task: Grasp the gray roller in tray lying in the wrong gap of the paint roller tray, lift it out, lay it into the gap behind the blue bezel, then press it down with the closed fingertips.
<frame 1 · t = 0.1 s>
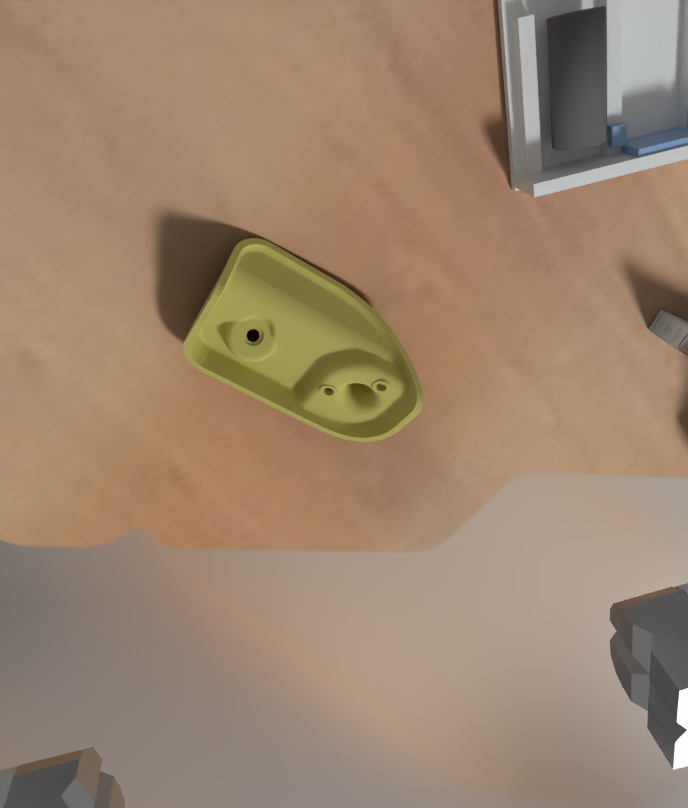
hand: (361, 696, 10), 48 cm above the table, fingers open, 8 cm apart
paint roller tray: (601, 76, 52), on the table
gray roller in tray: (565, 79, 51), point 1 cm above the table, touching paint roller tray
plastic component: (301, 341, 60), on the table
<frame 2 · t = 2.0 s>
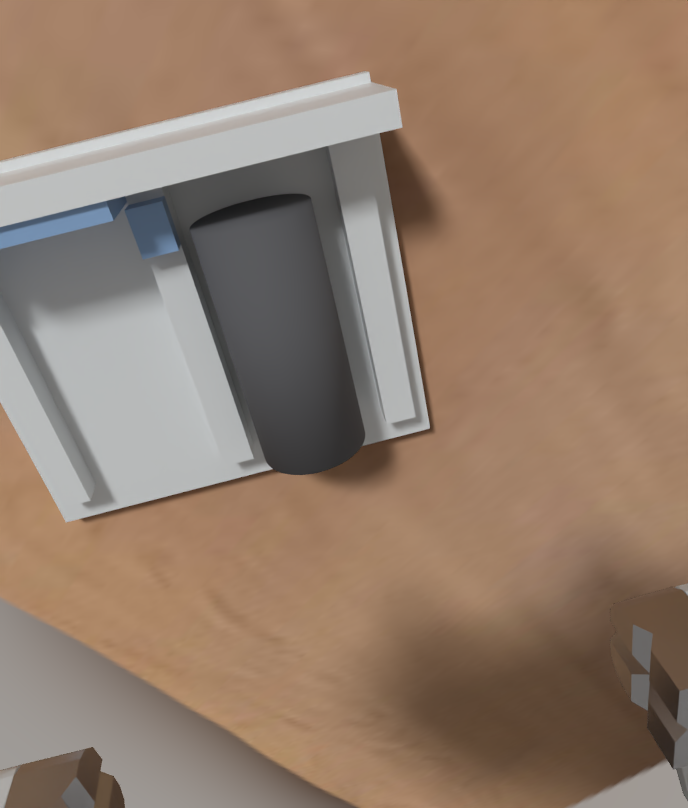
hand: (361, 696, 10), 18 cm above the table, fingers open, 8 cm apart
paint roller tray: (198, 319, 25), on the table
gray roller in tray: (287, 317, 25), point 1 cm above the table, tilted 6°, touching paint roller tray
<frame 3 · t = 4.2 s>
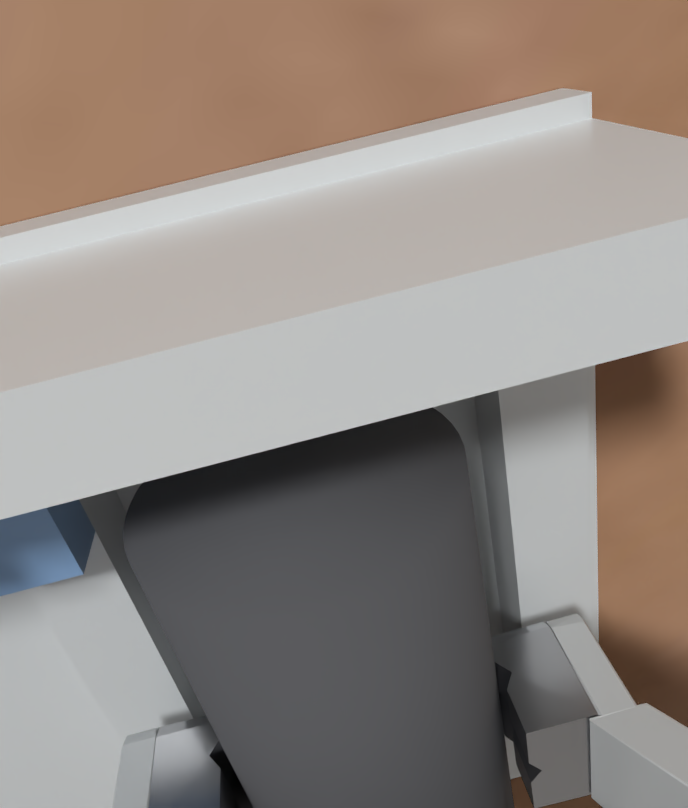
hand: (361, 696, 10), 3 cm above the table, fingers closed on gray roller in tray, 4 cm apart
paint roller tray: (155, 608, 12), on the table
gray roller in tray: (346, 611, 12), point 1 cm above the table, touching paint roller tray, gripper
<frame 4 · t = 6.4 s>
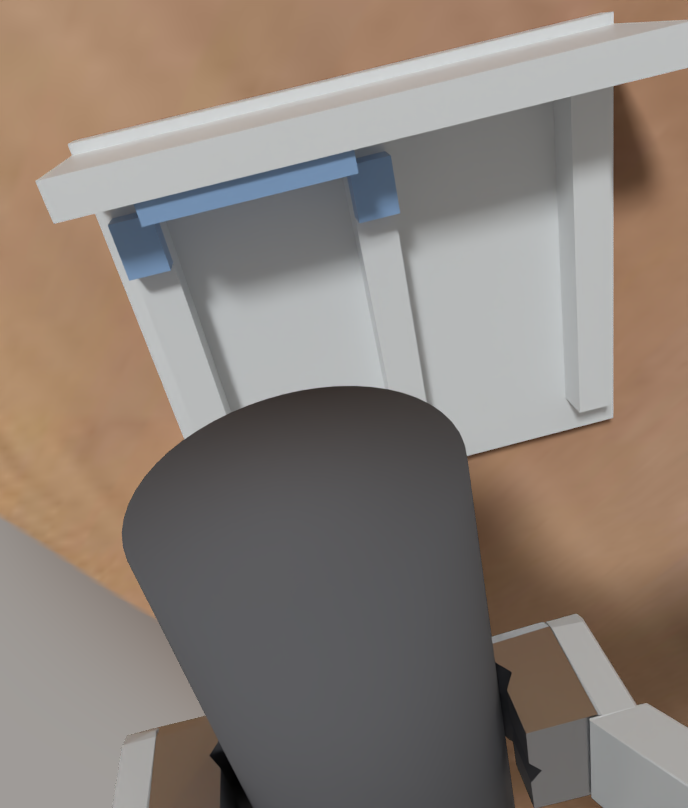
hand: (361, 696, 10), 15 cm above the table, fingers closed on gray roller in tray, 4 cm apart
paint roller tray: (381, 296, 23), on the table
gray roller in tray: (346, 611, 12), point 13 cm above the table, touching gripper
when the fingers open (3 cm above the table, at t = 8.6 s): gray roller in tray stays where it is, resting on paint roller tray.
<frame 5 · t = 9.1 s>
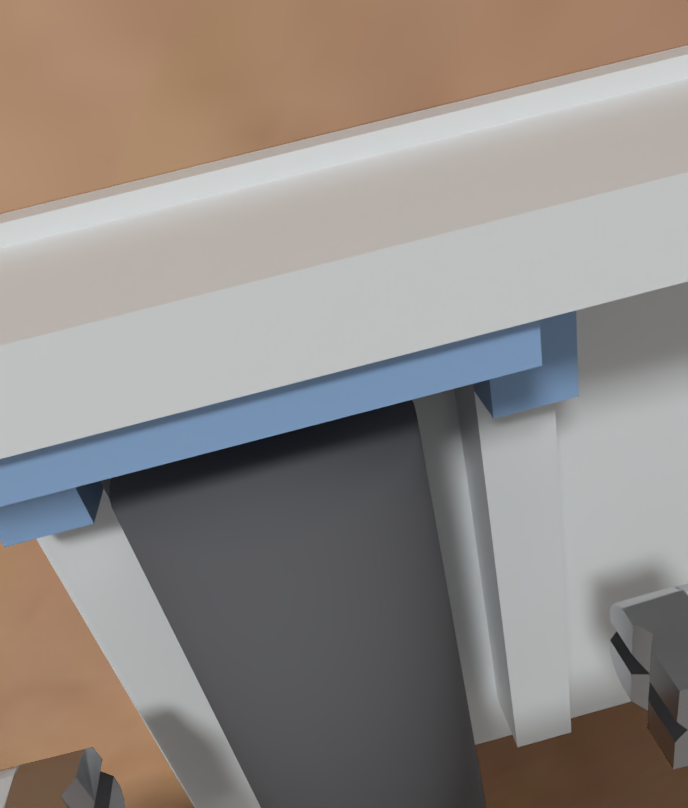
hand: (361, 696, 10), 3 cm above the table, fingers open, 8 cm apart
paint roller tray: (488, 483, 13), on the table
gray roller in tray: (339, 573, 12), point 1 cm above the table, tilted 11°, touching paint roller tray
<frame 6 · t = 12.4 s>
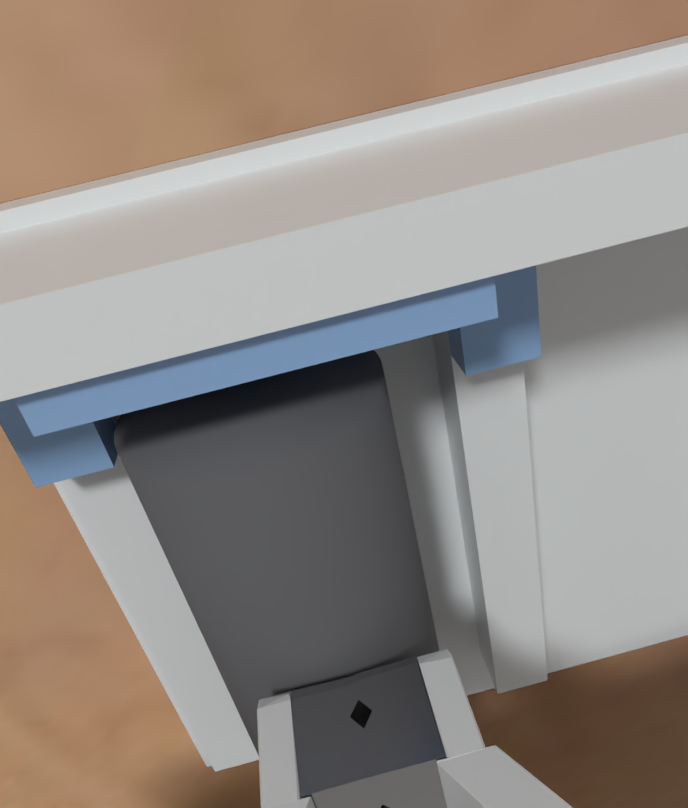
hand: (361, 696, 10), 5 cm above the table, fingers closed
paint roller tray: (469, 448, 14), on the table
gray roller in tray: (332, 528, 14), point 1 cm above the table, tilted 16°, touching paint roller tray, gripper
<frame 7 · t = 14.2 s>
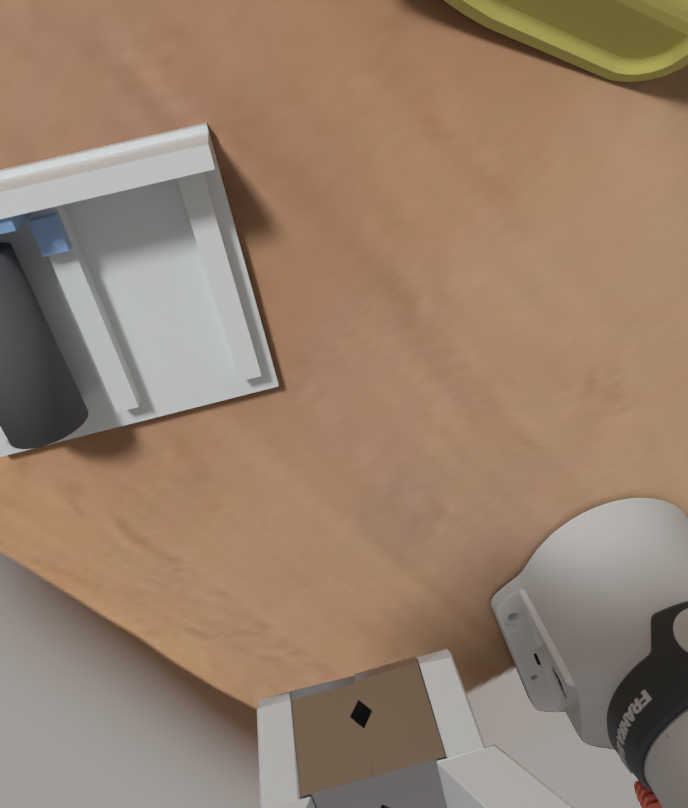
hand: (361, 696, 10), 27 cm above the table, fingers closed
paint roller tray: (93, 301, 34), on the table
gray roller in tray: (30, 330, 33), point 1 cm above the table, tilted 14°, touching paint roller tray
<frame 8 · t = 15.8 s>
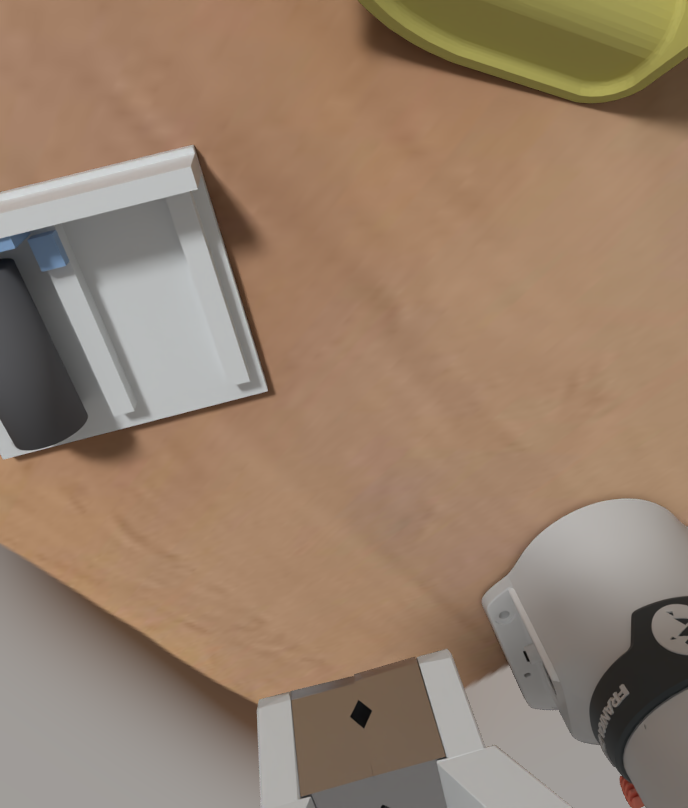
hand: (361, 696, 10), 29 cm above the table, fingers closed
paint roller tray: (92, 312, 36), on the table
gray roller in tray: (32, 339, 35), point 1 cm above the table, tilted 13°, touching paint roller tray
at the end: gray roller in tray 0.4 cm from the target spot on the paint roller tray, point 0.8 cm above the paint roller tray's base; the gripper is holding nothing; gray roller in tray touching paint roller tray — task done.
